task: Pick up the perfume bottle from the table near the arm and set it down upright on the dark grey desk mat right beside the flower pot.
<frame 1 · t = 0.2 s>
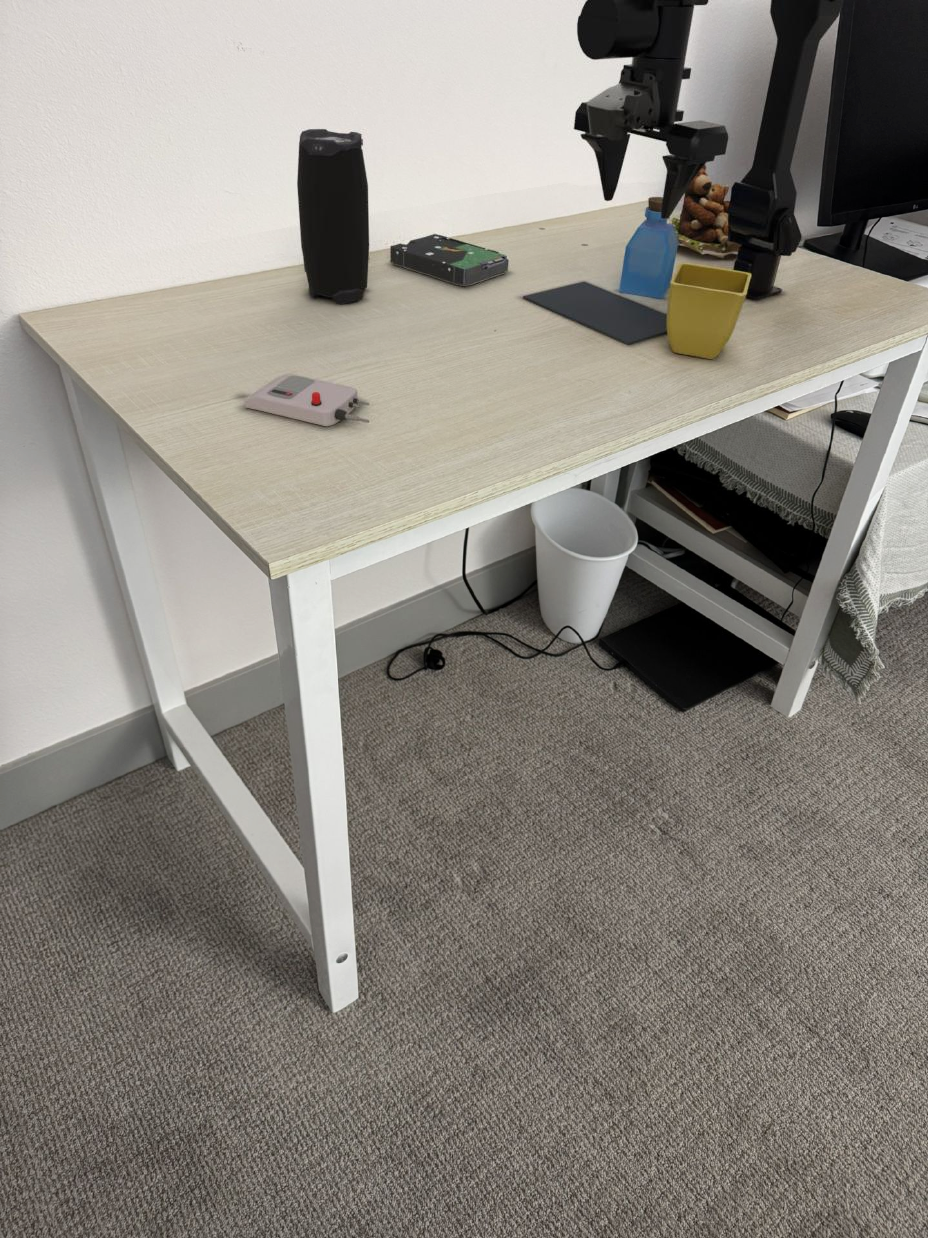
hand: (635, 208, 105), 15 cm above the table, tool pointing down, fingers open, 9 cm apart
perfume bottle: (644, 290, 127), on the table
portable speaker: (338, 296, 120), on the table
grey electronic control box: (311, 409, 93), on the table
flower pot: (695, 351, 110), on the table
bear figurine: (702, 248, 145), on the table
disk drive: (448, 270, 131), on the table
desk mat: (604, 311, 119), on the table
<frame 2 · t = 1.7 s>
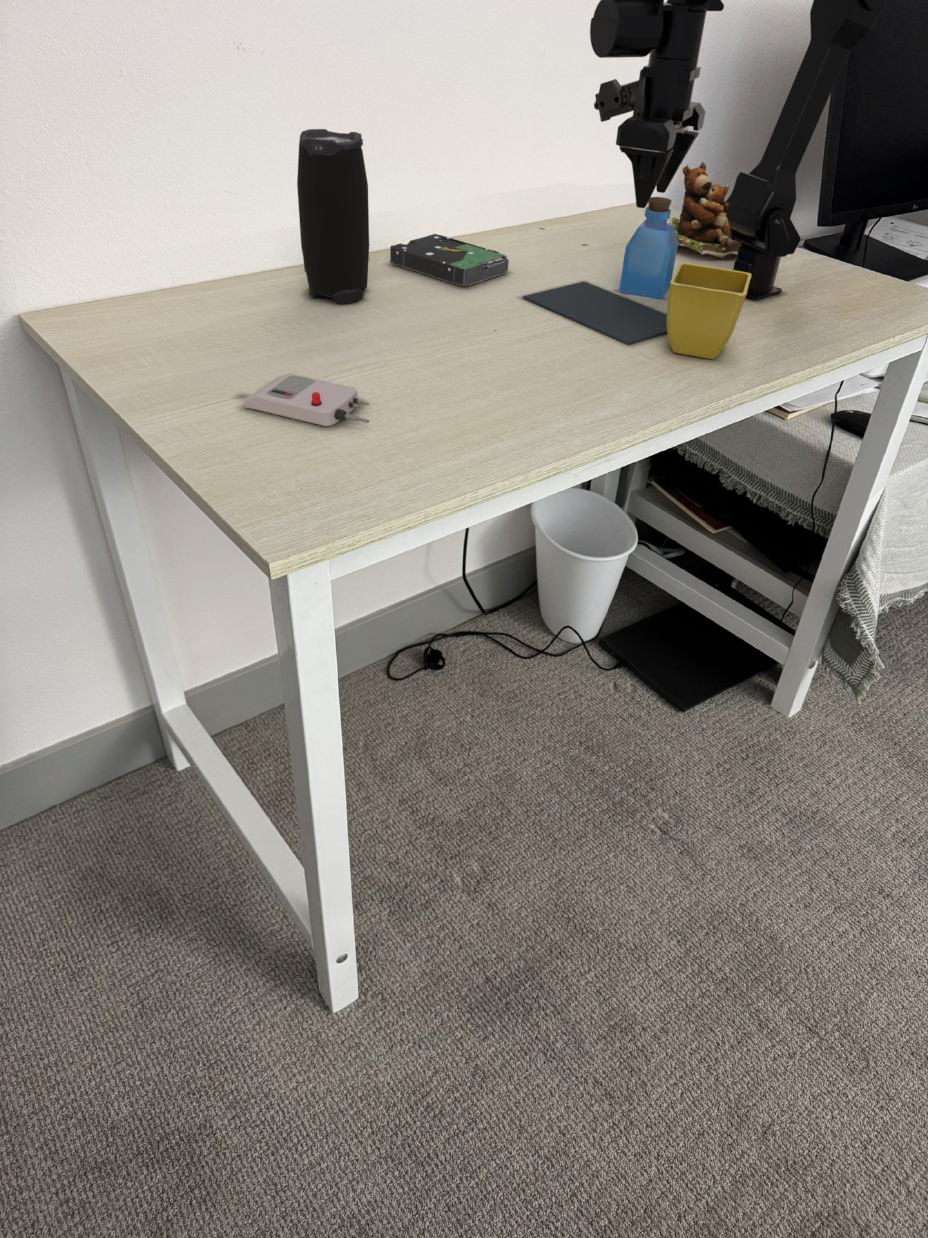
hand: (651, 199, 113), 14 cm above the table, tool pointing down, fingers open, 9 cm apart
nothing on the table moved.
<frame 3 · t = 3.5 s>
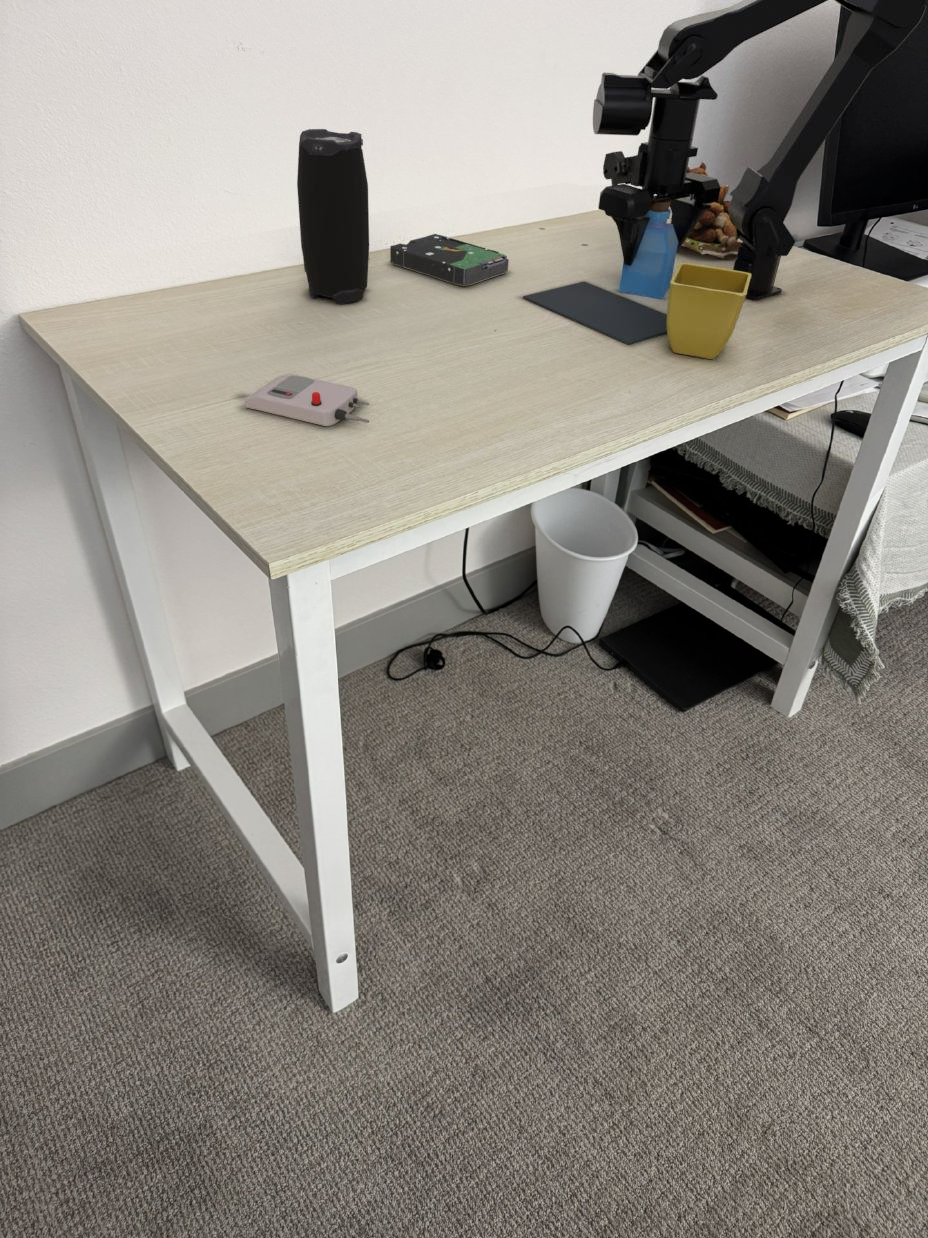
hand: (650, 259, 125), 4 cm above the table, tool pointing down
perfume bottle: (644, 290, 127), on the table, touching gripper
everything else where it was.
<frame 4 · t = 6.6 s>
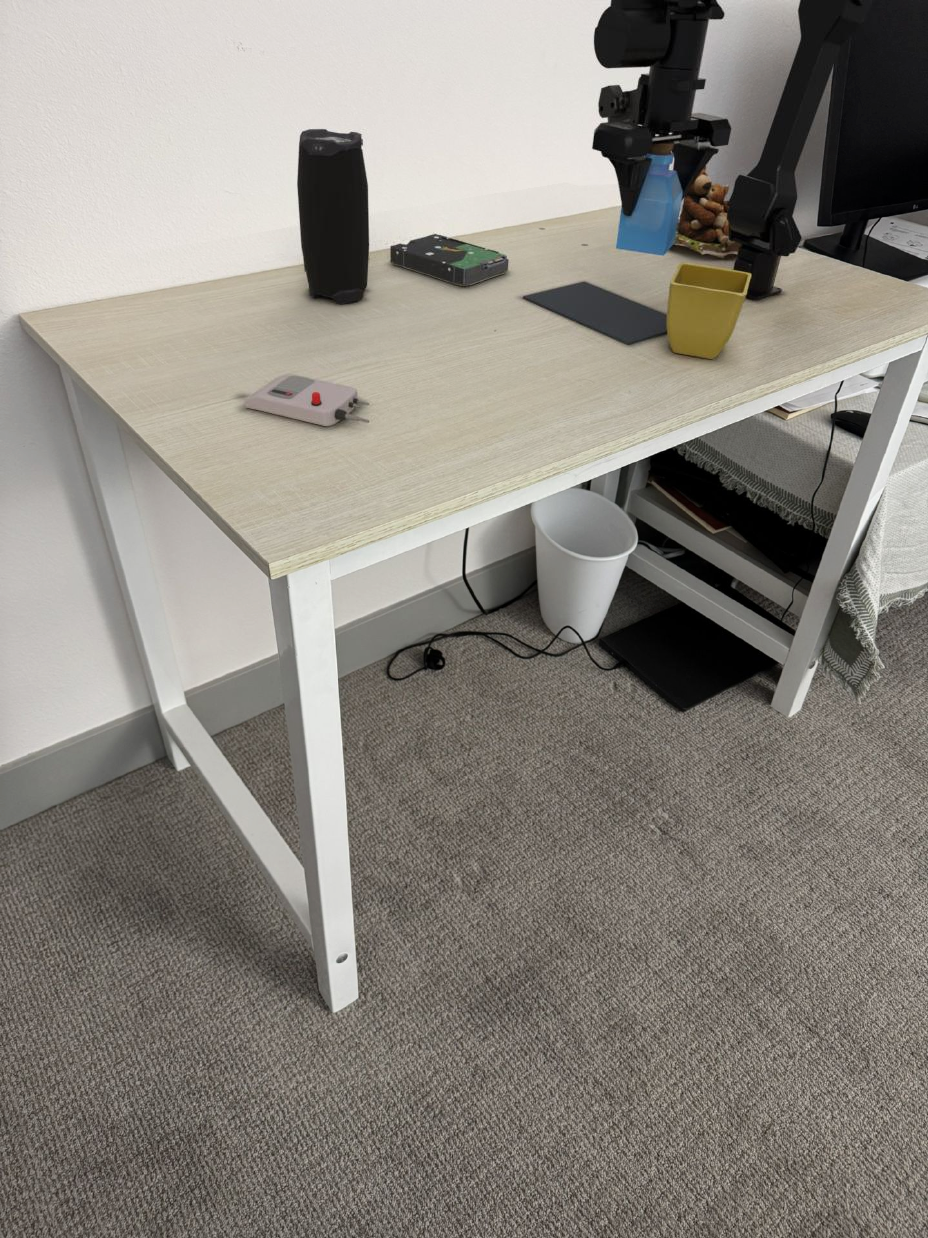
hand: (650, 211, 111), 13 cm above the table, tool pointing down, fingers closed on perfume bottle, 8 cm apart
perfume bottle: (644, 247, 113), point 9 cm above the table, touching gripper
everything else where it was.
when the fingers open (5 cm above the table, at t = 9.5 s): perfume bottle stays where it is, resting on desk mat.
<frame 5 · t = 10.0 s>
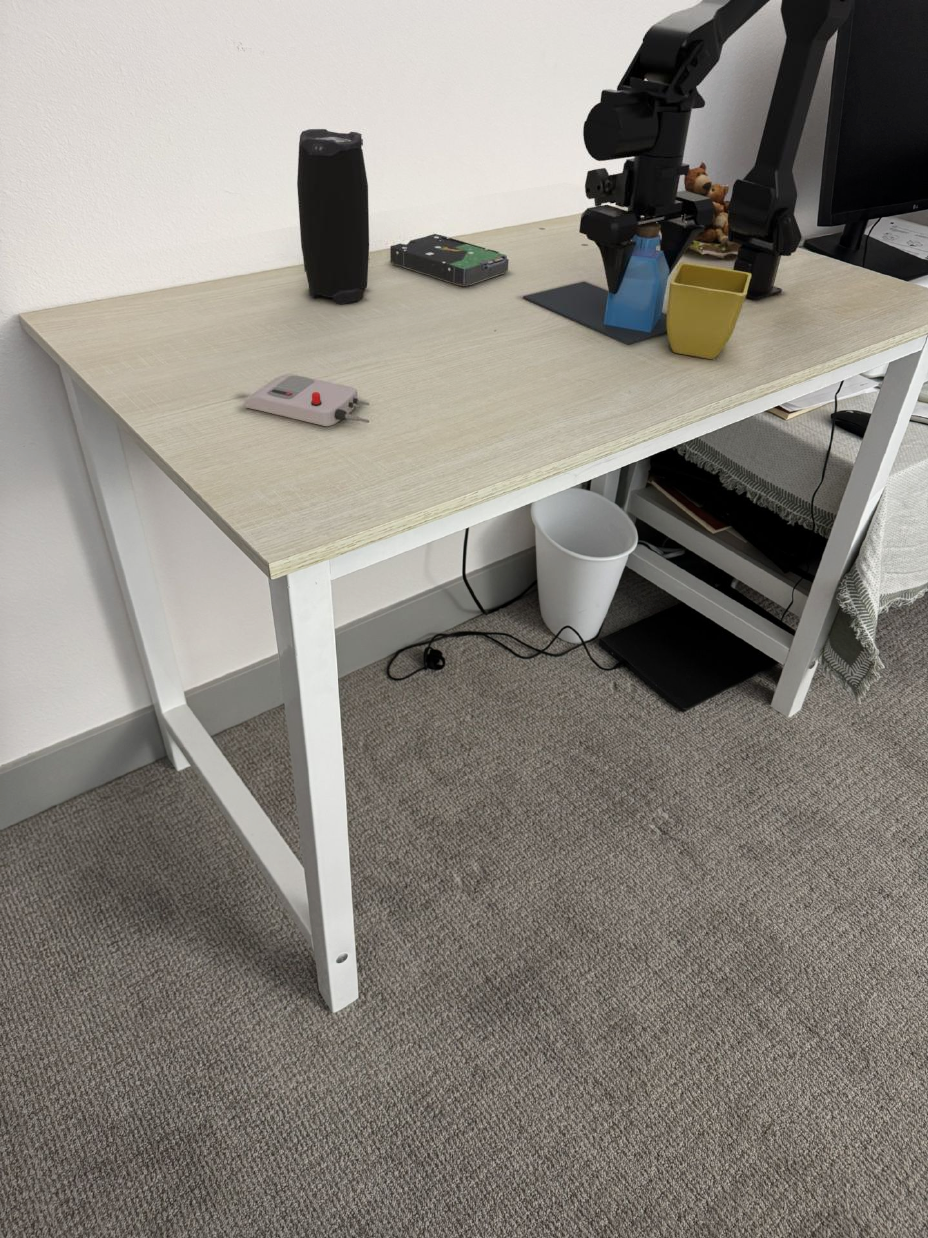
hand: (637, 286, 113), 5 cm above the table, tool pointing down, fingers open, 9 cm apart
perfume bottle: (632, 322, 116), resting on desk mat
everything else where it was.
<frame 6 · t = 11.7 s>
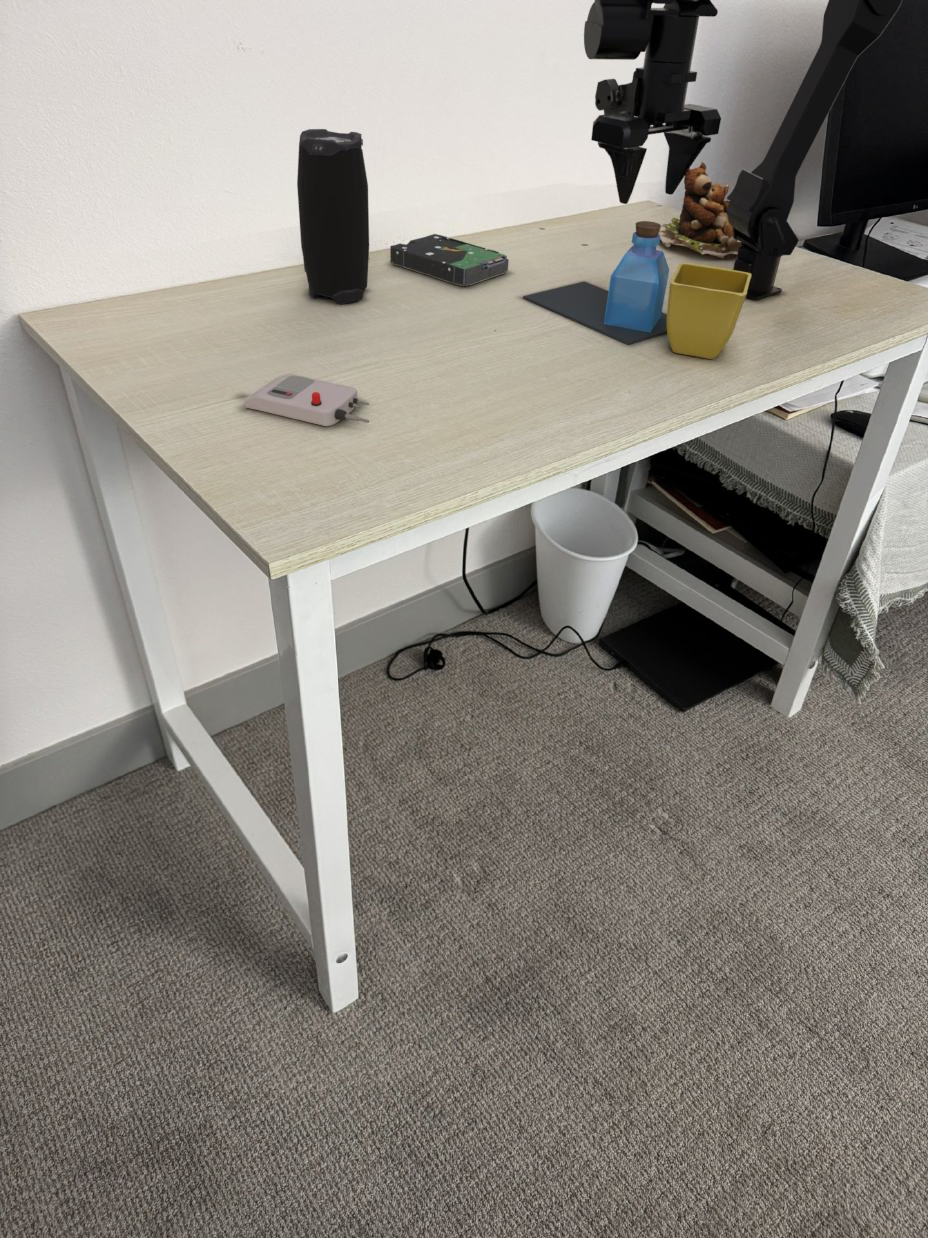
hand: (646, 198, 116), 13 cm above the table, tool pointing down, fingers open, 9 cm apart
nothing on the table moved.
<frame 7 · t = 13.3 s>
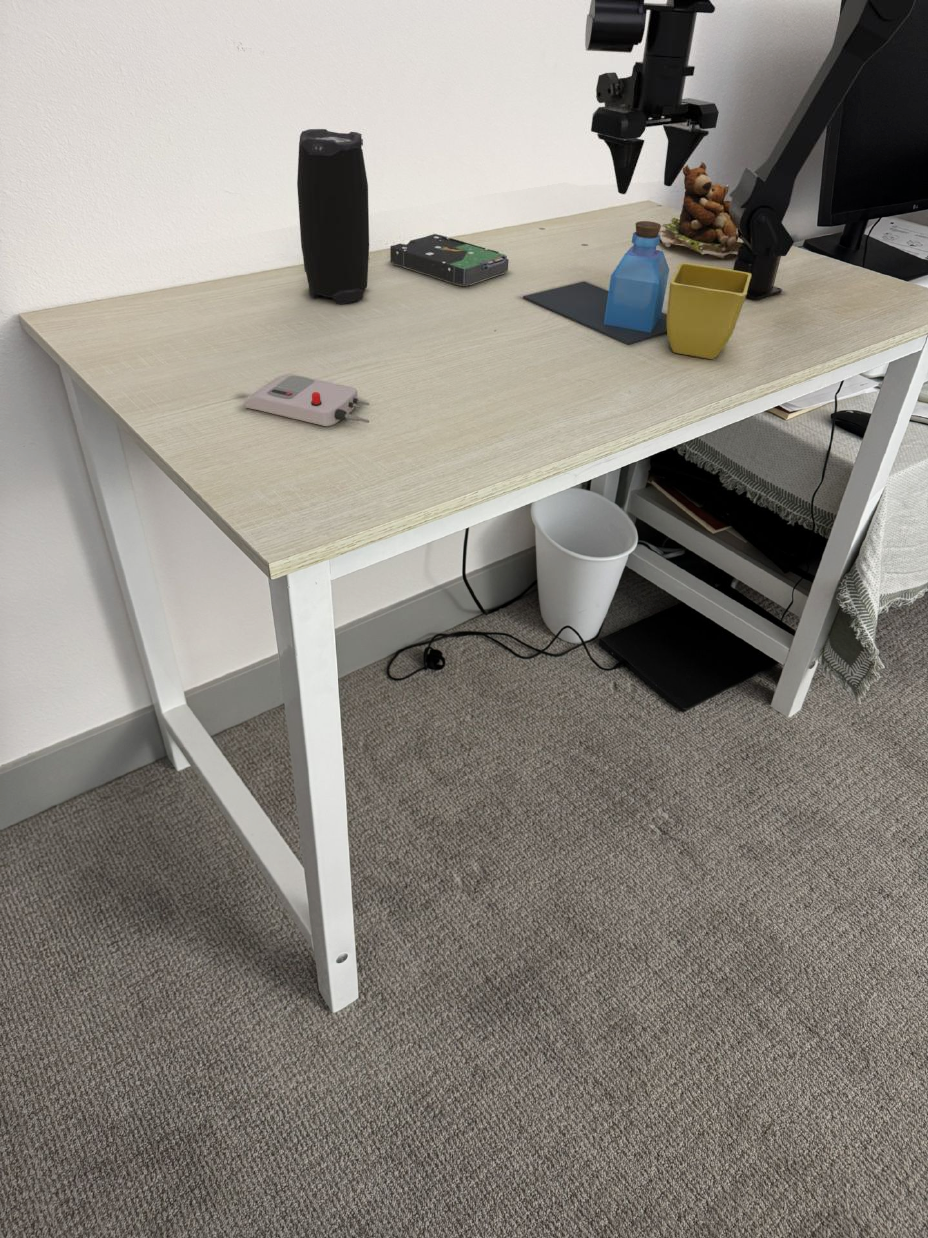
hand: (645, 189, 120), 13 cm above the table, tool pointing down, fingers open, 9 cm apart
nothing on the table moved.
at the end: perfume bottle inside the target area on the desk mat (5.0 cm from its centre), point 0.1 cm above the desk mat's base; perfume bottle 11.0 cm from the flower pot (horizontally); perfume bottle tilted 0° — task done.
